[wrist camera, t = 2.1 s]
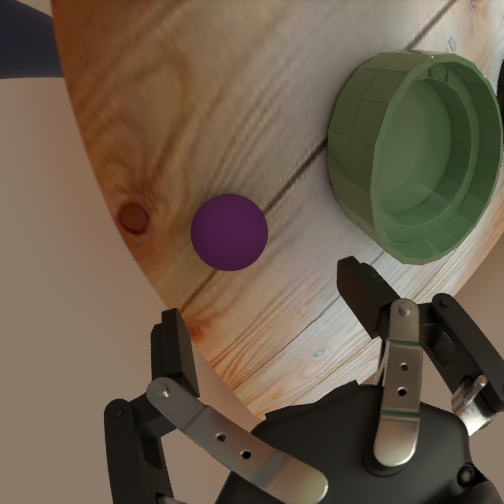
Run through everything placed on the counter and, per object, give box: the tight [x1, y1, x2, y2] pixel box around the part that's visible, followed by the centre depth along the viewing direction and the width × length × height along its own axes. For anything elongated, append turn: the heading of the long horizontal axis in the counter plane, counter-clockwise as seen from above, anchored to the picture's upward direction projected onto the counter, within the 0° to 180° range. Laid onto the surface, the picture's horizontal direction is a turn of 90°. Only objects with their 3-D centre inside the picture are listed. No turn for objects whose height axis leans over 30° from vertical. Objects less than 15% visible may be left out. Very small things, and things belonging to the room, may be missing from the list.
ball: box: [191, 194, 268, 271], centre depth 19 cm, size 5×5×5 cm
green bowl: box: [327, 50, 503, 265], centre depth 19 cm, size 17×17×6 cm
